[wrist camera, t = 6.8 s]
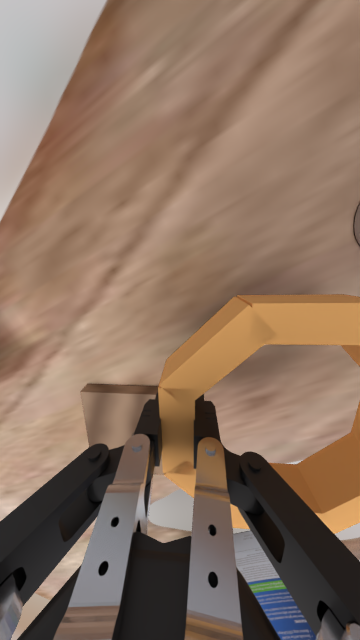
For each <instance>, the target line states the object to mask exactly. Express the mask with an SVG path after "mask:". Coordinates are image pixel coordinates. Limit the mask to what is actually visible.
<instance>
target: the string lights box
mask: <svg viewBox="0 0 360 640" xmlns="http://www.w3.org/2000/svg"><path fill="white" fill-rule="evenodd" d="M233 538H234V549H235V560H236V567H237V568H238V570H239V571H240V572H241V574H242V575H243V577H244V578H245V580H246V582H247V583H248V585H249V587H250V588H251V590H252V592H253V593H254V595H255V597H256V599H257V600H258V602H259V604H260V605H261V607H262V609H263V610H264V612H265V614H266V615H267V617H268V619H269V620H270V622H271V624H272V626H273V627H274V629H275V631H276V632H277V634H278V636H279V637H280V639H281V640H316V636H315V634H314V632H313V631H312V629H311V627H310V626H309V624H308V622H307V621H306V619H305V618H304V616H303V614H302V613H301V611H300V609H299V608H298V606H297V605H296V603H295V601H294V600H293V598H292V596H291V595H290V593H289V592H288V590H287V588H286V587H285V585H284V583H283V582H282V580H281V579H280V577H279V575H278V574H277V572H276V570H275V569H274V567H273V566H272V564H271V562H270V561H269V559H268V557H267V556H266V554H265V552H264V551H263V549H262V548H261V546H260V544H259V543H258V541H257V539H256V538H255V536H254V535H253V533H252V531H246V532H241V533H236V534H233Z"/></svg>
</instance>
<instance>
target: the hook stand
mask: <svg viewBox="0 0 360 640" xmlns="http://www.w3.org/2000/svg"><path fill="white" fill-rule="evenodd" d="M157 392H158V386H130V385H103V384H87V385H86V386H85V387H84V388H83V389H82V391H81V392H80V393H81V399H82V405H83V411H84V417H85V423H86V430H87V436H88V442H89V447H91V446H92V445H95V444H99V443H103V444H105V445H107V446H108V448H109V450H110V449H114V448H118V447H121V446H123V445H125V443H126V441H127V440H128V439H129V438H130V437H132V436H133V435H134V432H135V429H136V427H137V424H138V421H139V418H140V416H141V413H142V411H143V407H144V405H145V403H146V402H147V401H148V400H149V399H155V397H156V394H157ZM153 474H157V475H164V473H163V468H162V455H161V461H160V466H159V467H156V466H155V468H154V473H153Z"/></svg>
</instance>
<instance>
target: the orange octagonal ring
mask: <svg viewBox="0 0 360 640" xmlns="http://www.w3.org/2000/svg"><path fill="white" fill-rule="evenodd" d="M264 344H285V345H341V346H342V347H343V349H344V350H345V351H346V352H347V353H348V354H349V355H350V356H351V357H352V359H353V360H354V361H355V362H356V363H357V364H358V365H359V366H360V297H357V296H350V295H344V294H335V295H237V298H236V297H235V296H234V297H233V298H232V299H231V300H230V301H229V302H228V303H227V304H226V305H224V306H223V307H222V308H221V309H220V310H219V311H218V312H217V313H216V314H215V315H214V316H213V317H212V318H211V319H209V320H208V321H207V322H206V323H205V324H204V325H203V326H202V327H201V328H200V329H199V330H198V331H197V332H196V333H194V334H193V335H192V336H191V337H190V338H189V339H188V340H187V341H186V342H185V343H184V344H183V345H182V346H181V347H179V348H178V349H177V350H176V351H175V352H174V353H173V354H172V355H171V356H170V357H169V358H168V359H167V360H166V363H165V366H164V370H163V373H162V376H161V380H160V383H159V386H158V396H159V414H160V418H161V429H162V448H163V449H162V468H163V473H164V475H165V476H166V477H167V478H168V479H170V480H171V481H172V482H174V483H175V484H176V485H177V486H179V487H180V488H181V489H183V490H184V491H185V492H186V493H188V494H189V495H190V496H191V497H193V498H194V491H195V483H196V469H194V420H195V400H196V399H198V398H199V397H200V396H201V395H203V394H204V393H205V392H206V391H207V390H209V389H210V388H211V387H212V386H214V385H215V384H216V383H217V382H219V381H220V380H221V379H222V378H224V377H225V376H226V375H227V374H228V373H230V372H231V371H232V370H233V369H235V368H236V367H237V366H238V365H240V364H241V363H242V362H243V361H244V360H246V359H247V358H248V357H249V356H251V355H252V354H253V353H254V352H256V351H257V350H258V349H259V348H261V347H262V346H263V345H264ZM269 464H270V465H271V466H272V467H273V469H274V470H275V471H276V472H277V473H278V474H279V475H280V476H281V477H282V478H283V479H284V480H285V481H286V483H287V484H288V485H289V486H290V487H291V488H292V489H293V490H294V491H295V492H296V493H297V494H298V496H299V497H300V498H301V499H302V500H303V501H304V502H305V503H306V504H307V505H308V506H309V507H310V508H311V510H312V511H313V512H314V513H315V514H316V515H317V516H318V517H319V518H320V519H321V520H322V521H323V523H324V524H325V525H326V526H327V527H328V528H329V529H330V530H331V531H332V532H333V533H334V534H335V533H338V532H340V531H342V530H344V529H346V528H349V527H351V526H353V525H355V524H357V523H360V402H359V406H358V409H357V413H356V416H355V420H354V423H353V427H352V430H351V433H349V434H347V435H346V436H344V437H342V438H341V439H339V440H337V441H335V442H334V443H332V444H330V445H329V446H327V447H325V448H324V449H322V450H320V451H318V452H317V453H315V454H313V455H312V456H310V457H308V458H306V459H305V460H303V461H301V462H300V463H298V464H279V463H269ZM230 507H231V517H232V527H233V528H242V529H250V528H249V526H248V525H247V523H246V522H245V520H244V518H243V517H242V515H241V513H240V512H239V510H238V507H236V506H234V505H232V504H230Z"/></svg>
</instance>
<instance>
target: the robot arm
mask: <svg viewBox="0 0 360 640" xmlns="http://www.w3.org/2000/svg"><path fill="white" fill-rule="evenodd" d="M354 229H355V236H356V239H357V241H358V243H359V245H360V205H359V207H358V210H357V213H356V216H355V223H354ZM162 449H163V448H162V429H161V418H160V414H159V396H158V392H157V394H156V397H155V399H149V400H148V401H147V402H146V403H145V405H144V407H143V411H142V413H141V416H140V418H139V421H138V424H137V427H136V429H135V432H134V435H133V436H132V437H130V438H129V439H128V440H127V441H126V443H125V445H123V446H121V447H118V448H114V449H110V450H109V448H108V446H107V445H105V444H103V443H99V444H95V445H92V446H91V447H89V448H88V449H86V450H85V451H84V452H83V453H82V454H81V455H79V456H78V457H77V458H76V459H75V460H73V461H72V462H71V463H70V464H69V465H67V466H66V467H65V468H64V469H63V470H61V471H60V472H59V473H58V474H57V475H55V476H54V477H53V478H52V479H51V480H49V481H48V482H47V483H46V484H45V485H43V486H42V487H41V488H40V489H39V490H37V491H36V492H35V493H34V494H33V495H32V496H30V497H29V498H28V499H27V500H26V501H24V502H23V503H22V504H21V505H20V506H18V507H17V508H16V509H15V510H14V511H12V512H11V513H10V514H9V515H8V516H6V517H5V518H4V519H3V520H2V521H0V640H11V637H12V635H13V633H14V631H15V629H16V627H17V624H18V622H19V619H20V616H21V612H22V607H23V606H24V604H25V603H26V602H27V601H28V600H29V598H30V597H31V596H32V595H33V593H34V592H35V591H36V590H37V589H38V588H39V586H40V585H41V584H42V583H43V581H44V580H45V579H46V578H47V577H48V575H49V574H50V573H51V572H52V571H53V569H54V568H55V567H56V566H57V565H58V563H59V562H60V561H61V560H62V558H63V557H64V556H65V555H66V554H67V552H68V551H69V550H70V549H71V548H72V546H73V545H74V544H75V543H76V542H77V540H78V539H79V538H80V537H81V535H82V534H83V533H84V532H85V531H86V529H87V528H88V527H89V526H90V525H91V523H92V522H93V521H94V520H95V519H96V517H97V516H98V517H97V520H96V523H95V526H94V529H93V532H92V535H91V538H90V541H89V544H88V547H87V550H86V553H85V557H84V560H83V563H82V565H81V566H80V567H79V568H78V569H77V570H76V572H75V573H74V574H73V575H72V576H71V577H70V579H69V580H68V581H67V582H66V583H65V584H64V586H63V587H62V588H61V589H60V590H59V591H58V593H57V594H56V595H55V596H54V597H53V598H52V600H51V601H50V602H49V603H48V604H47V605H46V607H45V608H44V609H43V610H42V611H41V612H40V613H39V615H38V616H37V617H36V618H35V619H34V620H33V622H32V623H31V624H30V625H29V626H28V627H27V629H26V630H25V631H24V632H23V633H22V634H21V636H20V637H19V638H18V639H17V640H281V639H280V637H279V636H278V634H277V632H276V631H275V629H274V627H273V626H272V624H271V622H270V620H269V619H268V617H267V615H266V614H265V612H264V610H263V609H262V607H261V605H260V604H259V602H258V600H257V599H256V597H255V595H254V593H253V592H252V590H251V588H250V587H249V585H248V583H247V582H246V580H245V578H244V577H243V575H242V574H241V572H240V571H239V570H238V568H237V567H236V560H235V549H234V538H233V529H232V517H231V507H230V504H232V505H234V506H236V507H238V510H239V512H240V513H241V515H242V517H243V518H244V520H245V522H246V523H247V525H248V526H249V528H250V530H251V531H252V533H253V535H254V536H255V538H256V539H257V541H258V543H259V544H260V546H261V548H262V549H263V551H264V552H265V554H266V556H267V557H268V559H269V561H270V562H271V564H272V566H273V567H274V569H275V570H276V572H277V574H278V575H279V577H280V579H281V580H282V582H283V583H284V585H285V587H286V588H287V590H288V592H289V593H290V595H291V596H292V598H293V600H294V601H295V603H296V605H297V606H298V608H299V609H300V611H301V613H302V614H303V616H304V618H305V619H306V621H307V622H308V624H309V626H310V627H311V629H312V631H313V632H314V634H315V636H316V640H360V562H359V560H358V559H357V558H356V557H355V556H354V555H353V554H352V553H351V552H350V551H349V550H348V548H347V547H346V546H345V545H344V544H343V543H342V542H341V541H340V540H339V539H338V538H337V537H336V536H335V534H334V533H333V532H332V531H331V530H330V529H329V528H328V527H327V526H326V525H325V524H324V523H323V521H322V520H321V519H320V518H319V517H318V516H317V515H316V514H315V513H314V512H313V511H312V510H311V508H310V507H309V506H308V505H307V504H306V503H305V502H304V501H303V500H302V499H301V498H300V497H299V496H298V494H297V493H296V492H295V491H294V490H293V489H292V488H291V487H290V486H289V485H288V484H287V483H286V481H285V480H284V479H283V478H282V477H281V476H280V475H279V474H278V473H277V472H276V471H275V470H274V469H273V467H272V466H271V465H270V464H269V463H268V462H267V461H266V460H265V459H264V458H263V457H262V456H261V455H259V454H257V453H254V452H245V453H244V454H242V455H241V456H239V455H236V454H234V453H231V452H230V451H228V450H227V449H226V448H225V447H224V446H223V445H222V443H221V440H220V435H219V429H218V423H217V416H216V410H215V406H214V405H213V403H212V402H211V401H204V394H203V395H201V396H200V397H199V398H198V399H196V400H195V420H194V469H196V483H195V491H194V508H193V522H192V536H188V537H184V538H181V539H178V540H174V541H171V542H167V543H161V542H159V541H157V540H155V539H153V538H151V537H149V536H147V525H148V516H149V507H150V499H151V491H152V482H153V473H154V468H155V466H156V467H159V466H160V461H161V455H162Z"/></svg>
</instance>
